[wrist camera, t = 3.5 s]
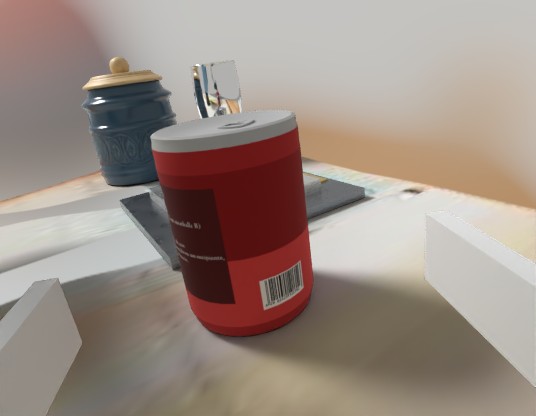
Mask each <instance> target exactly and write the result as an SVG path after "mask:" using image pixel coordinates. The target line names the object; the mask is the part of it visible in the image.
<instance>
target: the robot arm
mask: <svg viewBox="0 0 536 416" xmlns="http://www.w3.org/2000/svg"><path fill="white" fill-rule="evenodd" d="M425 279H426V280H427V281H428V282H429V283H430V284H431V285H432V286H433V287H434V288H435V289H436V290H437V291H438V292H439V293H440V294H441V295H442V296H443V297H444V298H445V299H446V300H447V301H448V302H449V303H450V304H451V305H452V306H453V307H454V308H455V309H456V310H457V311H458V312H459V313H460V314H461V315H462V316H463V317H464V318H465V319H466V320H467V321H468V322H469V323H470V324H471V325H472V326H473V327H474V328H475V329H476V330H477V331H478V332H479V333H480V334H481V335H482V336H483V337H484V338H485V339H486V340H487V341H488V342H490V343H491V344H492V345H493V346H494V347H495V348H496V349H497V350H498V351H499V352H500V353H501V354H502V355H503V356H504V357H505V358H506V359H507V360H508V361H509V362H510V363H511V364H512V365H513V366H514V367H515V368H516V369H517V370H518V371H519V372H520V373H521V374H522V375H523V376H524V377H525V378H526V379H527V380H528V381H529V382H530V383H531V384H532V385H533V386H534V387H535V388H536V263H534V262H532V261H531V260H529V259H527V258H526V257H524V256H522V255H521V254H519V253H517V252H516V251H514V250H512V249H511V248H509V247H507V246H506V245H504V244H502V243H500V242H499V241H497V240H495V239H494V238H492V237H490V236H489V235H487V234H485V233H484V232H482V231H480V230H479V229H477V228H475V227H474V226H472V225H470V224H468V223H467V222H465V221H463V220H462V219H460V218H458V217H457V216H455V215H453V214H452V213H450V212H448V211H447V210H442V211H436V212H431V213H426V221H425ZM81 345H82V340H81V337H80V335H79V332H78V330H77V327H76V324H75V322H74V319H73V316H72V314H71V311H70V308H69V306H68V303H67V300H66V298H65V295H64V293H63V290H62V287H61V285H60V282H59V279H58V278H54V279H49V280H43V281H38V282H34V283H33V284H32V286H31V287H30V288H29V289H28V290H27V291H26V292H25V294H24V295H23V296H22V297H21V298H20V299H19V300H18V301H17V303H16V304H15V305H14V306H13V307H12V308H11V309H10V310H9V312H8V313H7V314H6V315H5V316H4V317H3V318H2V320H1V321H0V416H46V414H47V412H48V410H49V408H50V406H51V404H52V402H53V400H54V398H55V396H56V395H57V393H58V391H59V389H60V387H61V385H62V383H63V381H64V379H65V377H66V375H67V373H68V371H69V369H70V367H71V365H72V363H73V361H74V359H75V357H76V355H77V353H78V351H79V349H80V347H81Z"/></svg>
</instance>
